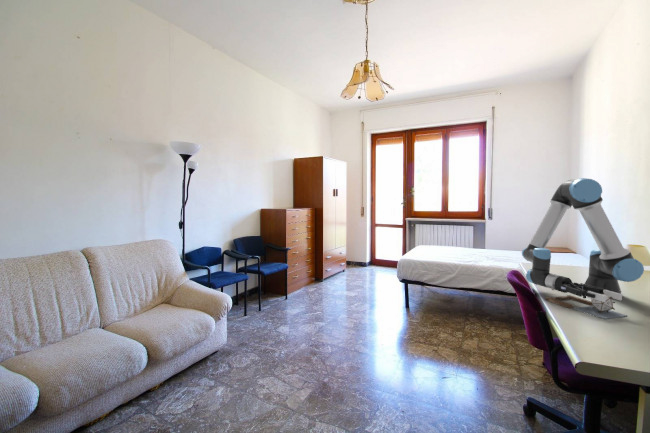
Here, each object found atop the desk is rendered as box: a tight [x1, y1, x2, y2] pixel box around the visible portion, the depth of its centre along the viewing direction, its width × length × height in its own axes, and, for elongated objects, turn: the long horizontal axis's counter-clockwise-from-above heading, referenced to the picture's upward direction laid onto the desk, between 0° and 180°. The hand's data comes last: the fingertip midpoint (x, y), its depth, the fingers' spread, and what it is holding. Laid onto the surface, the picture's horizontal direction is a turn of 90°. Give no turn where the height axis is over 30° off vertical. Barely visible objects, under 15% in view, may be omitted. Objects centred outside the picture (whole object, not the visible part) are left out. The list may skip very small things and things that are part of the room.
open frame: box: [545, 294, 593, 309], centre depth 145 cm, size 16×11×2 cm
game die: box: [589, 292, 616, 313], centre depth 132 cm, size 9×8×10 cm
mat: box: [573, 305, 628, 320], centre depth 133 cm, size 14×12×1 cm
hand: (613, 298), depth 128 cm, fingers open, 9 cm apart
